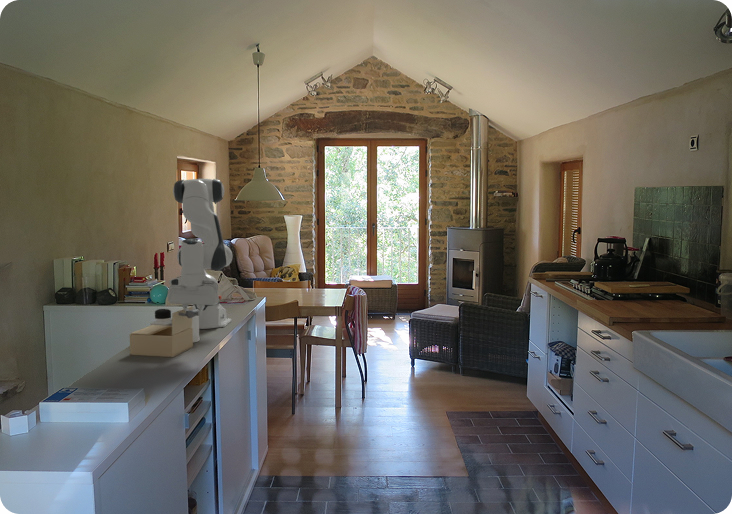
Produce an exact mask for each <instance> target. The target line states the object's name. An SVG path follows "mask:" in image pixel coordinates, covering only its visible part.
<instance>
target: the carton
mask: <svg viewBox="0 0 732 514" xmlns="http://www.w3.org/2000/svg"><path fill="white" fill-rule="evenodd" d="M193 347H194V343H193V329H192V328H188V329H186V330H184V331H181V332H179V333H177V334H174V335H172V327H171V326H169V325H168V326H164V325H151V326H150V325H149V326H146V327H143V328H141V329H138V330H135V331H132V332H130V334H129V354H130V356H132V355H133V356H147V357H148V356H149V357H165V358H173V357H174V358H175V357H176V356H178V355H180V354H182V353H184V352H186V351H188V350H190V349H192V348H193Z"/></svg>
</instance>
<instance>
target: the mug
mask: <svg viewBox="0 0 732 514" xmlns="http://www.w3.org/2000/svg"><path fill="white" fill-rule="evenodd" d="M190 328H192V329H193V344H194V343H197V342H199V341H200V340H201V339H200V329H199V316H194V317H192V327H190Z"/></svg>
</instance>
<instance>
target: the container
mask: <svg viewBox="0 0 732 514" xmlns="http://www.w3.org/2000/svg"><path fill="white" fill-rule="evenodd" d="M151 325H164V326H168V325H169V326H171V327H172V310H171V309H169V308H158V309H157V310H155V311H154V321H152V322H150V324H149V326H151Z"/></svg>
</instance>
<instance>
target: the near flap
mask: <svg viewBox="0 0 732 514" xmlns="http://www.w3.org/2000/svg"><path fill="white" fill-rule="evenodd" d="M193 306H194V305H191V306H187V307H188V309H189V310H191V311H190V312H188V313H185V310H184V309H183V308H182V309H180V310H178V311H175V312H171V320H172V335H174V334H177V333H179V332H181V331H184V330H186V329H188V328H190V327H192V317H194V316H197V311H199V310H198V309H196V310H192V308H193Z"/></svg>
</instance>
